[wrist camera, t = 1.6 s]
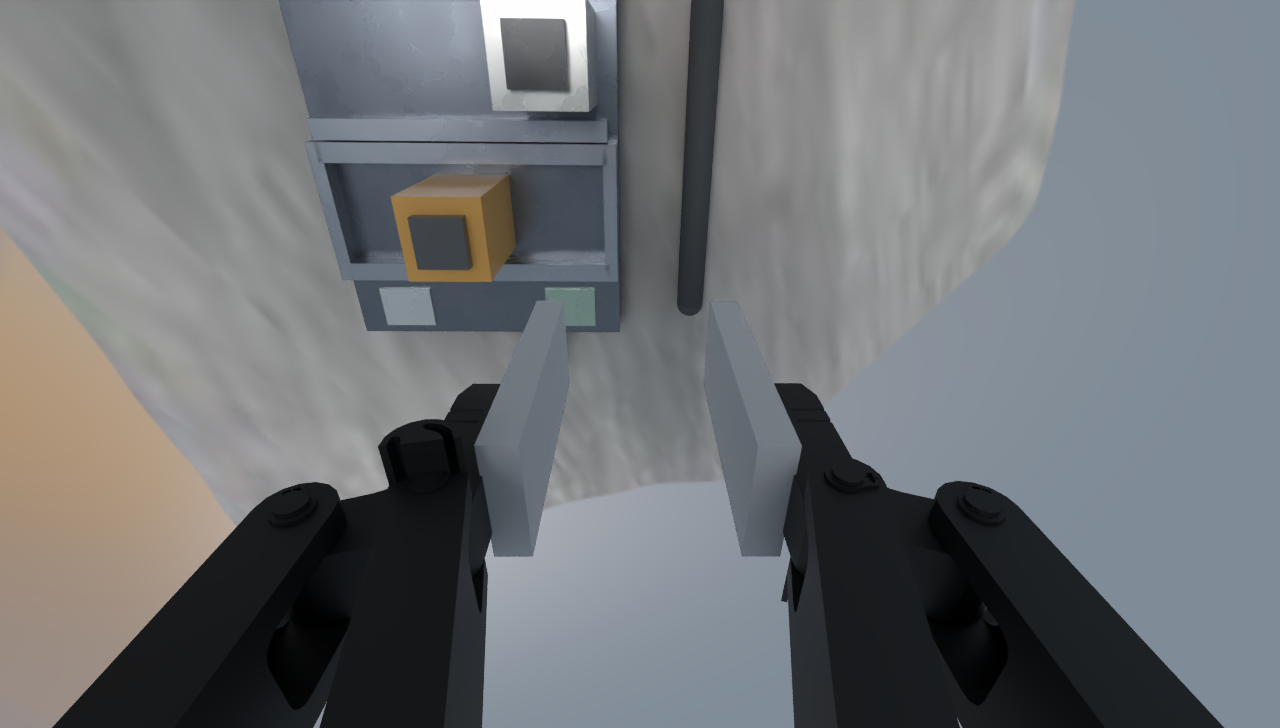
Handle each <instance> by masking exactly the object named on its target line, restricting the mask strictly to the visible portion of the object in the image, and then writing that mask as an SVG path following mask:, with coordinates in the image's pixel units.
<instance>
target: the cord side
mask: <svg viewBox="0 0 1280 728" xmlns="http://www.w3.org/2000/svg"><path fill="white" fill-rule="evenodd" d="M723 6H724V0H692V2H691V21H690V42H689V63H688V85H687V106H686V128H685V149H684V170H683V192H682V213H681V235H680V256H679V277H678V299H677V305H678V308H679V310H680V311H681V313H683V314H685V315H688V316H691V315H695V314H696V313H698V312H699V311H700V309H701V307H702V300H703V286H704V272H705V258H706V244H707V230H708V216H709V202H710V188H711V174H712V160H713V146H714V132H715V118H716V104H717V90H718V76H719V62H720V48H721V34H722V20H723Z"/></svg>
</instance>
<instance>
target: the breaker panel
mask: <svg viewBox="0 0 1280 728" xmlns="http://www.w3.org/2000/svg"><path fill="white" fill-rule="evenodd" d="M279 4H280V7H281V11H282V15H283V19H284V22H285V26H286V30H287V34H288V37H289V41H290V45H291V48H292V52H293V56H294V60H295V63H296V67H297V71H298V75H299V78H300V82H301V86H302V89H303V93H304V97H305V101H306V104H307V108H308V112H309V116H310V118H307V121H308V125H309V128H310V132H311V136H312V139H313V140H312V141H307V142H304V143H305V146H306V150H307V153H308V157H309V160H310V164H311V168H312V171H313V175H314V178H315V182H316V186H317V189H318V193H319V196H320V200H321V204H322V207H323V211H324V214H325V218H326V222H327V225H328V229H329V232H330V236H331V239H332V243H333V247H334V250H335V254H336V257H337V261H338V265H339V268H340V272H341V275H342V279H343V280H354V283H355V287H356V291H357V295H358V298H359V302H360V306H361V310H362V313H363V317H364V321H365V325H366V328H367V331H524V329H525V327H526V325H527V322H528V320H529V318H530V315H531V313H532V311H533V308H534V306H535V304H536V302H537V301H564V310H565V326H566V332H620V225H619V123H618V21H617V0H279ZM434 174H488V175H509V184H510V193H511V202H512V212H513V221H514V230H515V240H516V247H515V249H514V250H513V252H512V253H511V255H510V256H509V258H508V259H507V261H506V262H505V263H504V265H503V266H502V268H501V269H500V271H499V272H498V274H497V275H496V277H495V278H494V279H493V281H492V282H409V280H408V275H407V270H406V266H405V261H404V256H403V252H402V247H401V243H400V238H399V233H398V229H397V224H396V219H395V215H394V210H393V205H392V201H391V196H393V195H395V194H397V193H399V192H401V191H402V190H404V189H406V188H408V187H410V186H412V185H414V184H416V183H418V182H420V181H422V180H424V179H426V178H428V177H430V176H432V175H434Z"/></svg>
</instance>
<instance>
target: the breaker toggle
mask: <svg viewBox="0 0 1280 728" xmlns="http://www.w3.org/2000/svg"><path fill="white" fill-rule="evenodd" d="M391 201H392V205H393V210H394V215H395V219H396V224H397V229H398V233H399V238H400V243H401V247H402V252H403V256H404V261H405V266H406V270H407V275H408V280H409V282H492V281H493V279H494V278H495V277H496V275H497V274H498V272H499V271H500V269H501V268H502V266H503V265H504V263H505V262H506V261H507V259H508V258H509V256H510V255H511V253H512V252H513V250H514V249H515V247H516V240H515V230H514V221H513V212H512V202H511V193H510V184H509V175H488V174H434V175H432V176H430V177H428V178H426V179H424V180H422V181H420V182H418V183H416V184H414V185H412V186H410V187H408V188H406V189H404V190H402V191H401V192H399V193H397V194H395V195H393V196H391Z"/></svg>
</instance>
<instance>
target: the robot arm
mask: <svg viewBox="0 0 1280 728" xmlns="http://www.w3.org/2000/svg"><path fill="white" fill-rule="evenodd" d="M568 388H569V371H568V356H567V341H566V326H565V310H564V301H537V302H536V304H535V306H534V308H533V311H532V313H531V315H530V318H529V320H528V322H527V325H526V327H525V329H524V332H523V334H522V336H521V339H520V341H519V343H518V345H517V348H516V350H515V352H514V355H513V357H512V359H511V362H510V364H509V366H508V369H507V371H506V373H505V375H504V378H503V380H502V382H501V384H472V385H471V386H470V387H468V388H467V389H466V390H464V391H463V392H462V393H461V394H459V395H458V396H457V398H456V400H455V402H454V403H453V405H452V407H451V409H450V412H448V414H447V416H446V418H445V420H440V419H425V420H421V421H416V422H411V423H408V424H406V425H404V426H401V427H399V428H397V429H395V430H393V431H392V432H391V433H389V434H388V435H387V436H385V437H384V439H383V440H382V442H381V443H380V444H379V446H378V448H379V452H380V455H381V458H382V462H383V465H384V469H385V472H386V476H387V479H388V482H389V487H388V489H386V490H383V491H380V492H376V493H373V494H368V495H364V496H359V497H355V498H350V499H345V500H341V501H340V498H339V495H338V492H337V490H336V489H334V488H333V487H332V486H330V485H329V484H324V483H318V482H313V483H303V484H298V485H295V486H292V487H288V488H285V489H282V490H280V491H279V492H277V493H275V494H273V495H271V496H269V497H267V498H266V499H265V500H263V501H262V502H261V503H260V504H259V505H257V506H256V507H255V508H254V509H253V510H252V511H251V512H250V513H249V514H248V515H247V516H246V517H245V518H244V520H243V521H242V522H241V523H240V524H239V525H238V526H237V527H236V528H235V529H234V530H233V532H232V533H231V534H230V535H229V536H228V537H227V538H226V539H225V540H224V541H223V543H222V544H221V545H220V546H219V547H218V548H217V549H216V550H215V551H214V552H213V553H212V554H211V555H210V557H209V558H208V559H207V560H206V561H205V562H204V563H203V564H202V565H201V566H200V567H199V569H198V570H197V571H196V572H195V573H194V574H193V575H192V576H191V577H190V578H189V579H188V581H187V582H186V583H185V584H184V585H183V586H182V587H181V588H180V589H179V590H178V591H177V592H176V593H175V595H174V596H173V597H172V598H171V599H170V600H169V601H168V602H167V603H166V604H165V605H164V607H163V608H162V609H161V610H160V611H159V612H158V613H157V614H156V615H155V616H154V617H153V618H152V620H151V621H150V622H149V623H148V624H147V625H146V626H145V627H144V628H143V629H142V631H141V632H140V633H139V634H138V635H137V636H136V637H135V638H134V639H133V640H132V641H131V642H130V643H129V645H128V646H127V647H126V648H125V649H124V650H123V651H122V652H121V653H120V654H119V655H118V657H117V658H116V659H115V660H114V661H113V662H112V663H111V664H110V665H109V666H108V667H107V669H106V670H105V671H104V672H103V673H102V674H101V675H100V676H99V677H98V678H97V679H96V680H95V682H94V683H93V684H92V685H91V686H90V687H89V688H88V689H87V690H86V691H85V692H84V693H83V695H82V696H81V697H80V698H79V699H78V700H77V701H76V702H75V703H74V705H72V707H71V708H70V709H69V710H68V711H67V712H66V713H65V714H64V715H63V716H62V717H61V718H60V720H59V721H58V722H57V723H56V724H55V725H54V726H53V727H52V728H313V727H314V725H315V723H316V721H317V719H318V717H319V715H320V714H321V712H322V709H323V708H324V706H325V704H326V707H325V710H324V714H323V717H322V721H321V724H320V728H482V712H483V686H484V660H485V634H486V607H487V582H488V574H487V568H486V563H485V555H486V552H487V548H488V545H489V542H490V539H491V542H492V547H493V553H494V556H533V553H534V548H535V544H536V539H537V534H538V530H539V524H540V520H541V515H542V511H543V506H544V501H545V496H546V492H547V487H548V482H549V478H550V473H551V468H552V463H553V459H554V454H555V449H556V444H557V440H558V435H559V430H560V426H561V421H562V416H563V411H564V407H565V402H566V397H567V392H568ZM704 388H705V392H706V397H707V401H708V406H709V410H710V415H711V419H712V424H713V428H714V433H715V437H716V442H717V446H718V451H719V455H720V460H721V464H722V469H723V473H724V478H725V482H726V487H727V491H728V496H729V500H730V505H731V509H732V513H733V518H734V523H735V527H736V532H737V536H738V541H739V545H740V549H741V554H742V556H780V554H781V549H782V544H783V539H784V537H785V540H786V543H787V546H788V549H789V552H790V556H791V557H790V562H789V567H788V571H787V576H786V581H785V585H784V590H783V595H782V600H781V601H784V602H787V600H788V606H789V626H790V647H791V667H792V684H793V685H792V686H793V705H794V727H795V728H960V727H959V723H958V720H959V722H960V724H961V725H962V727H963V728H1224V727H1223V726H1222V725H1221V724H1220V723H1219V722H1218V721H1217V720H1216V718H1215V717H1214V716H1213V715H1212V714H1211V713H1210V712H1209V711H1208V710H1207V709H1206V708H1205V707H1204V706H1203V705H1202V703H1201V702H1200V701H1199V700H1198V699H1197V698H1196V697H1195V696H1194V695H1193V694H1192V693H1191V692H1190V691H1189V689H1188V688H1187V687H1186V686H1185V685H1184V684H1183V683H1182V682H1181V681H1180V680H1179V679H1178V678H1177V677H1176V675H1175V674H1174V673H1173V672H1172V671H1171V670H1170V669H1169V668H1168V667H1167V666H1166V665H1165V664H1164V663H1163V662H1162V660H1161V659H1160V658H1159V657H1158V656H1157V655H1156V654H1155V653H1154V652H1153V651H1152V650H1151V649H1150V648H1149V646H1148V645H1147V644H1146V643H1145V642H1144V641H1143V640H1142V639H1141V638H1140V637H1139V636H1138V635H1137V633H1136V632H1135V631H1134V630H1133V629H1132V628H1131V627H1130V626H1129V625H1128V624H1127V623H1126V622H1125V621H1124V620H1123V618H1121V616H1120V615H1119V614H1118V613H1117V612H1116V611H1115V610H1114V609H1113V608H1112V607H1111V606H1110V605H1109V603H1108V602H1107V601H1106V600H1105V599H1104V598H1103V597H1102V596H1101V595H1100V594H1099V593H1098V591H1097V590H1096V589H1095V588H1094V587H1093V586H1092V585H1091V584H1090V583H1089V582H1088V581H1087V580H1086V579H1085V578H1084V576H1083V575H1082V574H1081V573H1080V572H1079V571H1078V570H1077V569H1076V568H1075V567H1074V566H1073V565H1072V564H1071V562H1069V560H1068V559H1067V558H1066V557H1065V556H1064V555H1063V554H1062V553H1061V552H1060V551H1059V550H1058V548H1057V547H1056V546H1055V545H1054V544H1053V543H1052V542H1051V541H1050V540H1049V539H1048V538H1047V537H1046V536H1045V535H1044V533H1043V532H1042V531H1041V530H1040V529H1039V528H1038V527H1037V526H1036V525H1035V524H1034V523H1033V522H1032V521H1031V519H1030V518H1029V517H1028V516H1027V515H1026V514H1025V513H1024V512H1023V511H1022V510H1021V509H1020V508H1019V507H1018V506H1017V505H1016V504H1015V503H1014V502H1012V501H1011V500H1010V499H1009V498H1007V497H1006V496H1004V495H1002V494H1001V493H999V492H997V491H995V490H993V489H991V488H989V487H986V486H982V485H979V484H976V483H972V482H962V481H955V482H950V483H945V484H944V485H942V486H941V487H940V488H939V489H938V490H937V493H936V495H935V498H934V499H930V498H926V497H921V496H916V495H912V494H907V493H903V492H899V491H896V490H893V489H889V488H887V486H886V484H885V482H884V480H883V479H882V477H881V476H880V474H879V473H877V472H876V471H875V470H874V469H873V468H871V467H870V466H868V465H866V464H864V463H862V462H860V461H858V460H855V459H852V457H851V455H850V454H849V452H848V450H847V448H846V447H845V445H844V443H843V441H842V439H841V438H840V436H839V435H838V433H837V431H836V429H835V428H834V425H833V424H832V423H830V418H829V417H828V415H827V413H826V411H824V408H823V406H822V404H821V402H820V401H819V399H818V397H817V395H816V394H814V393H813V392H812V391H810V390H809V389H808V388H806V387H805V386H804V385H802V384H799V383H773V381H772V378H771V376H770V374H769V372H768V369H767V367H766V365H765V363H764V360H763V358H762V356H761V354H760V352H759V349H758V347H757V345H756V343H755V340H754V338H753V336H752V334H751V332H750V329H749V327H748V325H747V323H746V320H745V318H744V316H743V314H742V312H741V309H740V307H739V305H738V303H737V302H710V312H709V324H708V337H707V350H706V362H705V375H704ZM326 702H327V703H326ZM957 718H958V720H957Z"/></svg>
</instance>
